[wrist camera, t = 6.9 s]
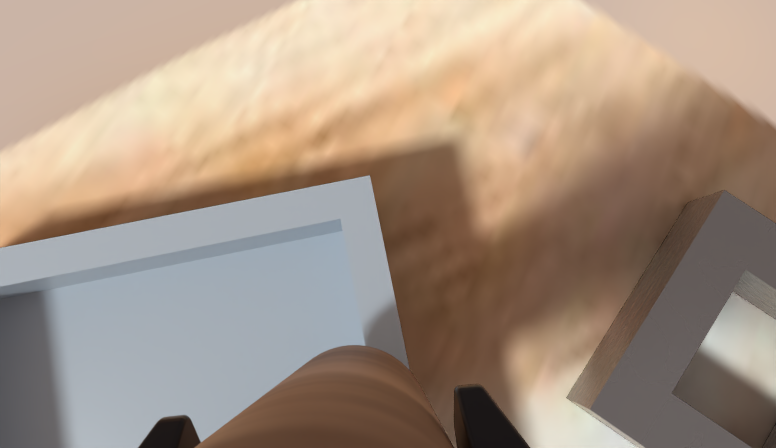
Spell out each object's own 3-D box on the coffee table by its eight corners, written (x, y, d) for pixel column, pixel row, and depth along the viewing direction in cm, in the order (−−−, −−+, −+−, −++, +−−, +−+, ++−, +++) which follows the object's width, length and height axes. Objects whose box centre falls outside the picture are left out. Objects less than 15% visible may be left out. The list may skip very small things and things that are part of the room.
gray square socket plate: (889, 333, 23) (951, 337, 21) (774, 541, 22) (824, 571, 19) (688, 202, 24) (724, 190, 21) (566, 397, 22) (589, 409, 20)
